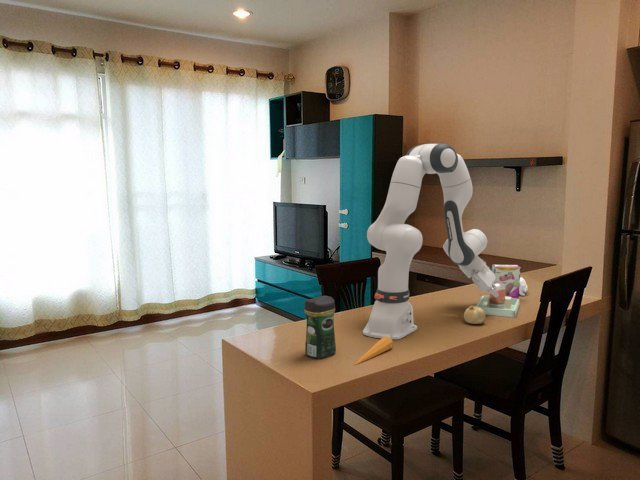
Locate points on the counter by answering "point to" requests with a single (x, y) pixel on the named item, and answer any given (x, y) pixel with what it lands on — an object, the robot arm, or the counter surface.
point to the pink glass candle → (500, 300)
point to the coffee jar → (320, 327)
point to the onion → (474, 315)
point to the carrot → (377, 349)
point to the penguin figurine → (522, 287)
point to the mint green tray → (499, 312)
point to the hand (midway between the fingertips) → (498, 294)
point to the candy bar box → (508, 278)
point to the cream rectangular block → (507, 302)
